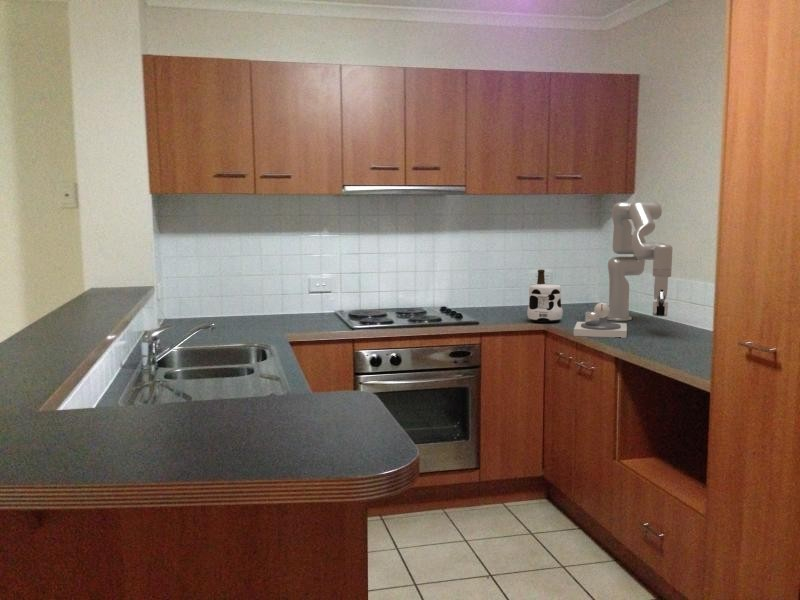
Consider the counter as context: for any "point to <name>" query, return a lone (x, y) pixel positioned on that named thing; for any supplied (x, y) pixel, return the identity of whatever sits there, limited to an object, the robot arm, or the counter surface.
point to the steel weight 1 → (592, 318)
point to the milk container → (544, 303)
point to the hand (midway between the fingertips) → (660, 313)
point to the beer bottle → (541, 277)
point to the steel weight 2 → (656, 308)
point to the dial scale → (601, 325)
